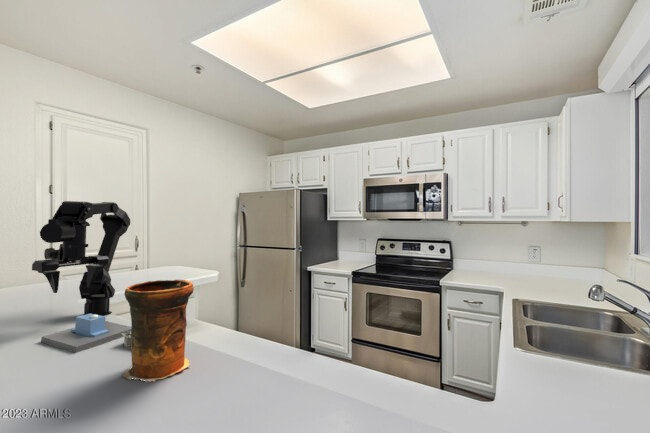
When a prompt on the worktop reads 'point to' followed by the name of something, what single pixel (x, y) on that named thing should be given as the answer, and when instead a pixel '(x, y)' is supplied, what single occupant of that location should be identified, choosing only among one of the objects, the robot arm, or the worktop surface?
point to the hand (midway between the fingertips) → (72, 290)
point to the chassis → (84, 338)
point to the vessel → (158, 328)
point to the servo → (90, 325)
